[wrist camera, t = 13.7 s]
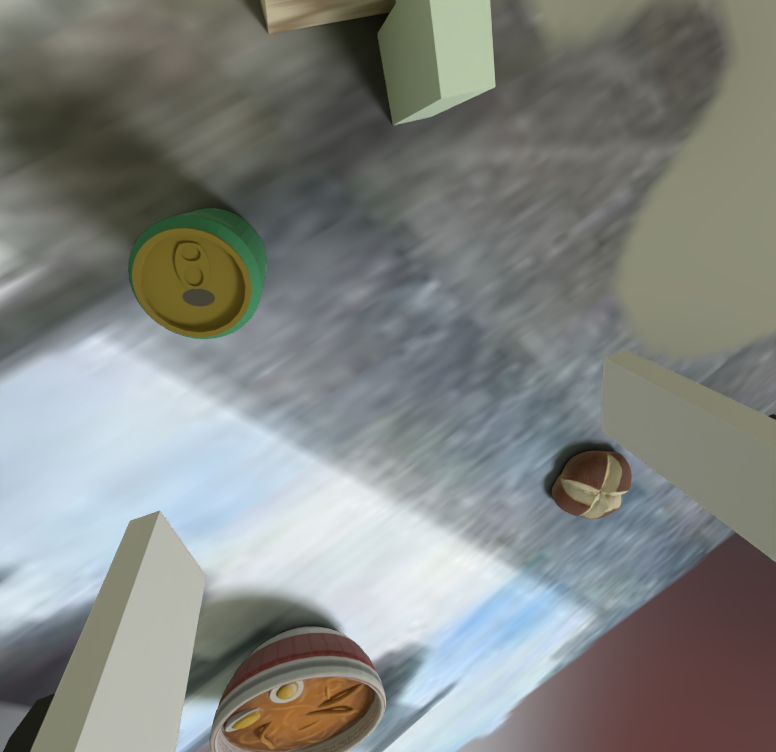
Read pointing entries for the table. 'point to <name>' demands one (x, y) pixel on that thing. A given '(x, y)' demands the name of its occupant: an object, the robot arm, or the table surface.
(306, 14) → the wooden block structure
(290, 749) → the bowl
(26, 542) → the table surface
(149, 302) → the beverage can
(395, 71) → the pale green rectangular block
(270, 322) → the table surface
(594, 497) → the bread
